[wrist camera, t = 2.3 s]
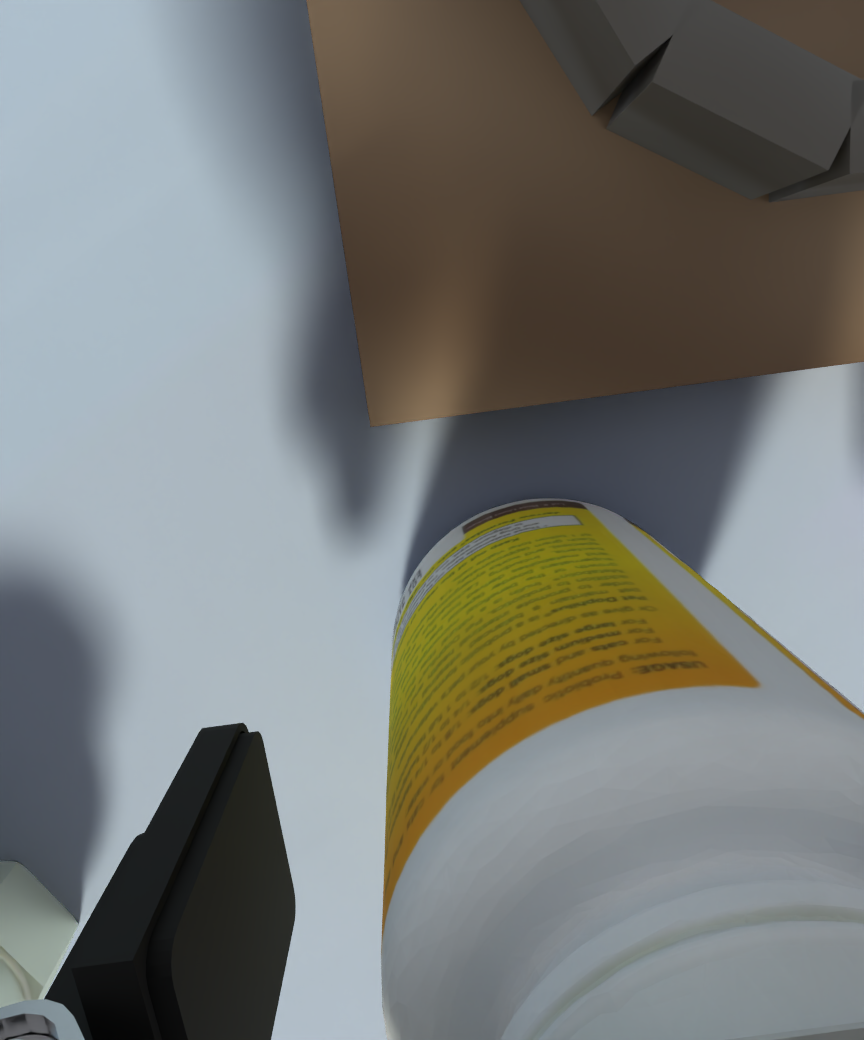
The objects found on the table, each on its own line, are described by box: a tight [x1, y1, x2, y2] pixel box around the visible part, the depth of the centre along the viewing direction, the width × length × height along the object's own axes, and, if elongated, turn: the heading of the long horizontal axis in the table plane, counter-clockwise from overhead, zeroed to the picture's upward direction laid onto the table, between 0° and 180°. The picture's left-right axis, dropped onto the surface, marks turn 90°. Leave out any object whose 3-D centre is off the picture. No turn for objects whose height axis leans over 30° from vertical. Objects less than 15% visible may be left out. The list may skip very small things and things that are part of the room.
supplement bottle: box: [381, 498, 864, 1040], centre depth 9 cm, size 6×6×10 cm
